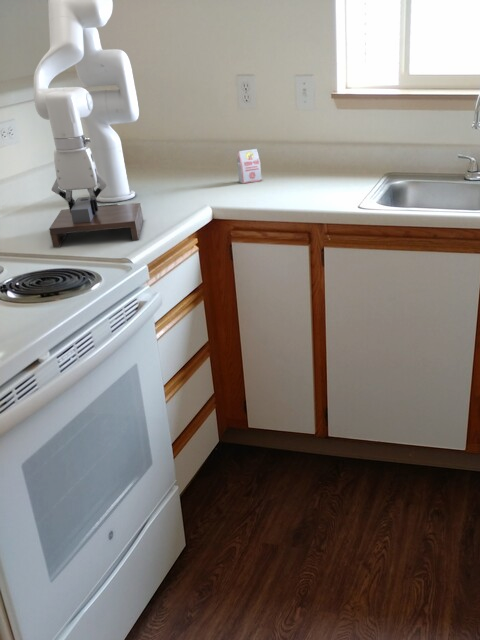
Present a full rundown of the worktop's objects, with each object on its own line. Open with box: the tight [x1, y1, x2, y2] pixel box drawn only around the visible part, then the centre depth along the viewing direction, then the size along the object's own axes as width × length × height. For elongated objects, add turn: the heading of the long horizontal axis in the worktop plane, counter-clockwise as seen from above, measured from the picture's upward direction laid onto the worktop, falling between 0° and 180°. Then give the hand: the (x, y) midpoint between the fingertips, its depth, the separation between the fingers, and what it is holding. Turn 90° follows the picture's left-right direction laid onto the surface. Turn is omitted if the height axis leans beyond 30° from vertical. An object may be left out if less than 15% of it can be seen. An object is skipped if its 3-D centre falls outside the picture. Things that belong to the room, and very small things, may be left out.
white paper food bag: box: [236, 148, 262, 185], centre depth 252 cm, size 4×7×10 cm, turn 116°
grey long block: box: [70, 196, 94, 223], centre depth 204 cm, size 14×4×4 cm, turn 8°
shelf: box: [48, 202, 144, 248], centre depth 207 cm, size 20×22×5 cm
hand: (85, 214), depth 205 cm, fingers closed on grey long block, 4 cm apart
